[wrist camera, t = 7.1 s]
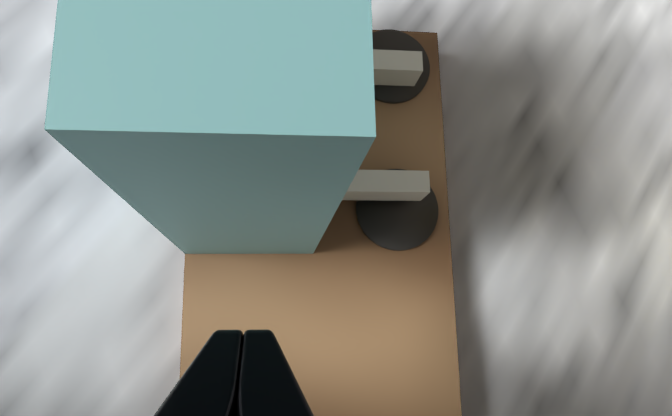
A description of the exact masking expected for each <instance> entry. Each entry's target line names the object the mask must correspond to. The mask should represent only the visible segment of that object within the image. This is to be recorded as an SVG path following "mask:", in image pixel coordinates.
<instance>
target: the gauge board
mask: <svg viewBox="0 0 672 416" xmlns="http://www.w3.org/2000/svg"><path fill="white" fill-rule="evenodd" d="M372 38H373V49H377V50H401V51H422V59H423V72H422V74H421V75H420V77H419V79H418V81H417V82H416V84H415V86H392V85H374V94H375V122H376V138H375V140H374V142H373V143H372V145H371V147H370V149H369V151H368V153H367V155H366V156H365V158H364V160H363V162H362V164H361V166H360V168H359V169H358V170H414V171H429V179H430V193H429V194H428V195H427V196H425V197H424V198H423V199H422V200H421V201H379V200H342V201H341V203H340V205H339V207H338V208H337V210H336V212H335V214H334V216H333V218H332V220H331V221H330V223H329V225H328V227H327V229H326V231H325V233H324V234H323V236H322V238H321V240H320V242H319V244H318V246H317V247H316V249H315V251H314V253H313V254H185V267H184V291H183V314H182V338H181V362H180V378H181V377H182V376H183V374H184V373H185V371H186V370H187V369H188V367H189V366H190V364H191V363H192V362H193V360H194V359H195V357H196V356H197V355H198V353H199V352H200V350H201V349H202V348H203V346H204V345H205V343H206V342H207V341H208V339H209V338H210V336H211V335H212V334H213V333H214V332H215V331H217V330H241V331H242V332H243V335H244V332H245V331H246V330H265V329H268V330H271V331H272V332H273V333H274V335H275V337H276V339H277V341H278V343H279V345H280V347H281V349H282V351H283V353H284V355H285V357H286V359H287V361H288V363H289V366H290V368H291V370H292V372H293V374H294V376H295V378H296V380H297V382H298V384H299V386H300V388H301V390H302V392H303V394H304V396H305V398H306V400H307V402H308V404H309V406H310V408H311V410H312V412H313V414H314V416H462V412H461V397H460V381H459V366H458V350H457V334H456V319H455V303H454V288H453V272H452V257H451V241H450V226H449V210H448V195H447V179H446V164H445V148H444V133H443V117H442V102H441V86H440V71H439V55H438V40H437V33H429V32H407V31H397V30H372Z"/></svg>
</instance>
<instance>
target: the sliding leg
mask: <svg viewBox="0 0 672 416" xmlns="http://www.w3.org/2000/svg"><path fill="white" fill-rule="evenodd" d="M45 130H46V131H47V132H48V133H49V134H50V135H51V136H52V137H54V138H55V139H56V140H57V141H58V142H59V143H60V144H62V145H63V146H64V147H65V148H66V149H67V150H68V151H69V152H71V153H72V154H73V155H74V156H75V157H76V158H77V159H79V160H80V161H81V162H82V163H83V164H84V165H85V166H86V167H88V168H89V169H90V170H91V171H92V172H93V173H94V174H95V175H97V176H98V177H99V178H100V179H101V180H102V181H103V182H105V183H106V184H107V185H108V186H109V187H110V188H111V189H112V190H114V191H115V192H116V193H117V194H118V195H119V196H120V197H121V198H123V199H124V200H125V201H126V202H127V203H128V204H129V205H131V206H132V207H133V208H134V209H135V210H136V211H137V212H138V213H140V214H141V215H142V216H143V217H144V218H145V219H146V220H147V221H149V222H150V223H151V224H152V225H153V226H154V227H155V228H157V229H158V230H159V231H160V232H161V233H162V234H163V235H164V236H166V237H167V238H168V239H169V240H170V241H171V242H172V243H174V244H175V245H176V246H177V247H178V248H179V249H180V250H181V251H183V252H184V253H185V254H313V253H314V251H315V249H316V247H317V246H318V244H319V242H320V240H321V238H322V236H323V234H324V233H325V231H326V229H327V227H328V225H329V223H330V221H331V220H332V218H333V216H334V214H335V212H336V210H337V208H338V207H339V205H340V203H341V201H342V200H379V201H421V200H422V199H423V198H424V197H425V196H427V195H428V194H429V193H430V179H429V171H414V170H358V169H359V168H360V166H361V164H362V162H363V160H364V158H365V156H366V155H367V153H368V151H369V149H370V147H371V145H372V143H373V142H374V140H375V138H376V122H375V94H374V66H373V38H372V10H371V0H58V4H57V13H56V23H55V32H54V42H53V52H52V61H51V71H50V81H49V90H48V100H47V110H46V119H45Z"/></svg>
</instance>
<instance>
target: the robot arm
mask: <svg viewBox="0 0 672 416" xmlns="http://www.w3.org/2000/svg"><path fill="white" fill-rule="evenodd" d="M154 416H314V414H313V412H312V410H311V408H310V406H309V404H308V402H307V400H306V398H305V396H304V394H303V392H302V390H301V388H300V386H299V384H298V382H297V380H296V378H295V376H294V374H293V372H292V370H291V368H290V366H289V363H288V361H287V359H286V357H285V355H284V353H283V351H282V349H281V347H280V345H279V343H278V341H277V339H276V337H275V335H274V333H273V332H272V331H271V330H268V329H265V330H246V331H245V332H244V335H243V332H242V331H241V330H217V331H215V332H214V333H213V334H212V335H211V336H210V338H209V339H208V341H207V342H206V343H205V345H204V346H203V348H202V349H201V350H200V352H199V353H198V355H197V356H196V357H195V359H194V360H193V362H192V363H191V364H190V366H189V367H188V369H187V370H186V371H185V373H184V374H183V376H182V377H181V378H180V380H179V381H178V383H177V384H176V385H175V387H174V388H173V390H172V391H171V392H170V394H169V395H168V397H167V398H166V399H165V401H164V402H163V404H162V405H161V406H160V408H159V409H158V411H157V412H156V413H155V415H154Z"/></svg>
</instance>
